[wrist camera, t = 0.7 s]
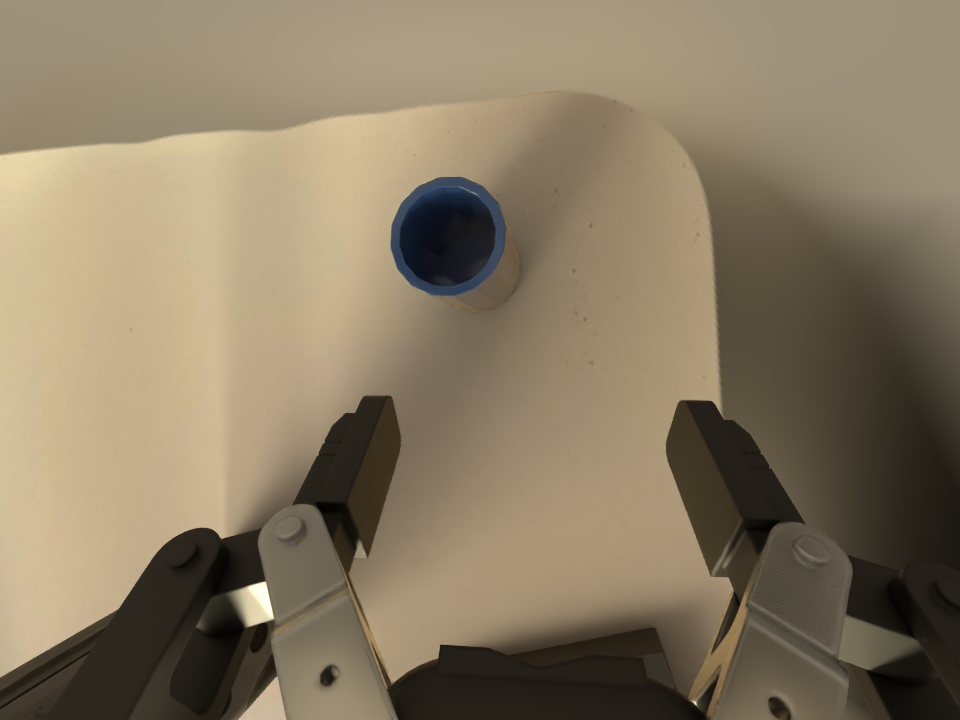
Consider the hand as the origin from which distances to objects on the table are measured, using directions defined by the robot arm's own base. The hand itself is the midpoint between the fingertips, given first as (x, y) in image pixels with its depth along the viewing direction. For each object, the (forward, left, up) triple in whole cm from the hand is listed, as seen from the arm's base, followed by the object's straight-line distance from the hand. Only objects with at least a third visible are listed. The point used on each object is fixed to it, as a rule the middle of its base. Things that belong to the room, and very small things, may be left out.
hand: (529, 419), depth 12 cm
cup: (+2, -9, -16) cm, 18 cm away
